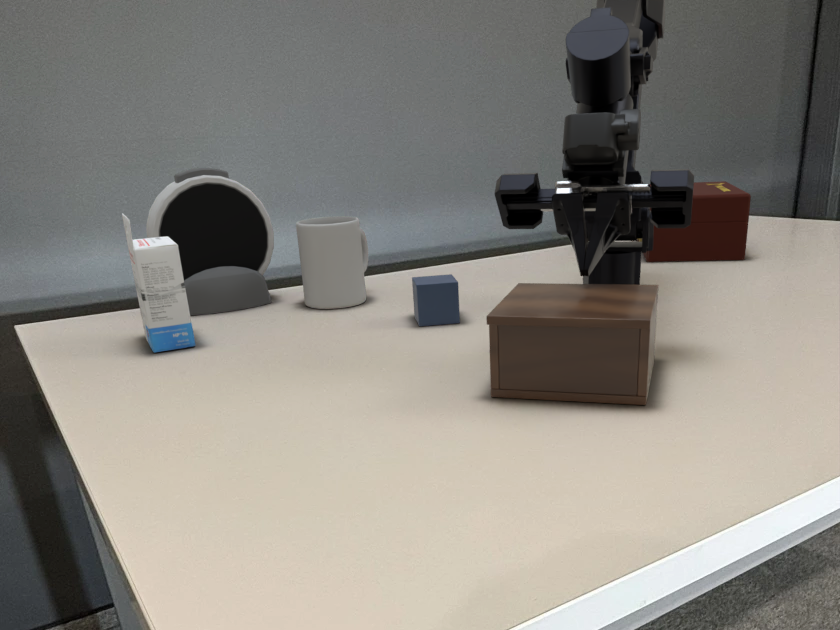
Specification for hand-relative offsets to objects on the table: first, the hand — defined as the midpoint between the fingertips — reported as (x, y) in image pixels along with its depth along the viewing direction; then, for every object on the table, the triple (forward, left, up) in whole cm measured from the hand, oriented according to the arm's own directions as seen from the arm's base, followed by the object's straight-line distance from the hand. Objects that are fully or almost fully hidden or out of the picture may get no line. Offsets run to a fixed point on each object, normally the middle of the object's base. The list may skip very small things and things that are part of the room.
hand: (584, 273), depth 75 cm
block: (+11, -23, -9) cm, 27 cm away
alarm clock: (+39, -42, -9) cm, 58 cm away
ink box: (+43, -23, -9) cm, 50 cm away
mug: (+22, -39, -9) cm, 46 cm away
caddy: (+2, +4, -9) cm, 10 cm away
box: (-36, -57, -9) cm, 68 cm away
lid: (+2, +4, -2) cm, 5 cm away
